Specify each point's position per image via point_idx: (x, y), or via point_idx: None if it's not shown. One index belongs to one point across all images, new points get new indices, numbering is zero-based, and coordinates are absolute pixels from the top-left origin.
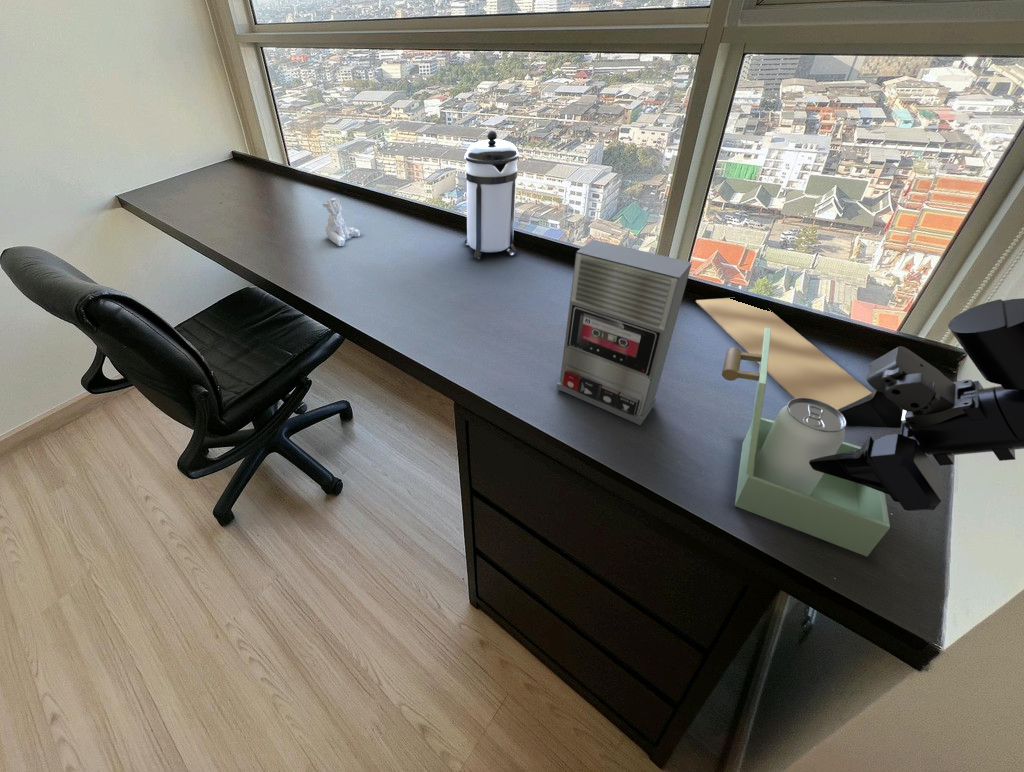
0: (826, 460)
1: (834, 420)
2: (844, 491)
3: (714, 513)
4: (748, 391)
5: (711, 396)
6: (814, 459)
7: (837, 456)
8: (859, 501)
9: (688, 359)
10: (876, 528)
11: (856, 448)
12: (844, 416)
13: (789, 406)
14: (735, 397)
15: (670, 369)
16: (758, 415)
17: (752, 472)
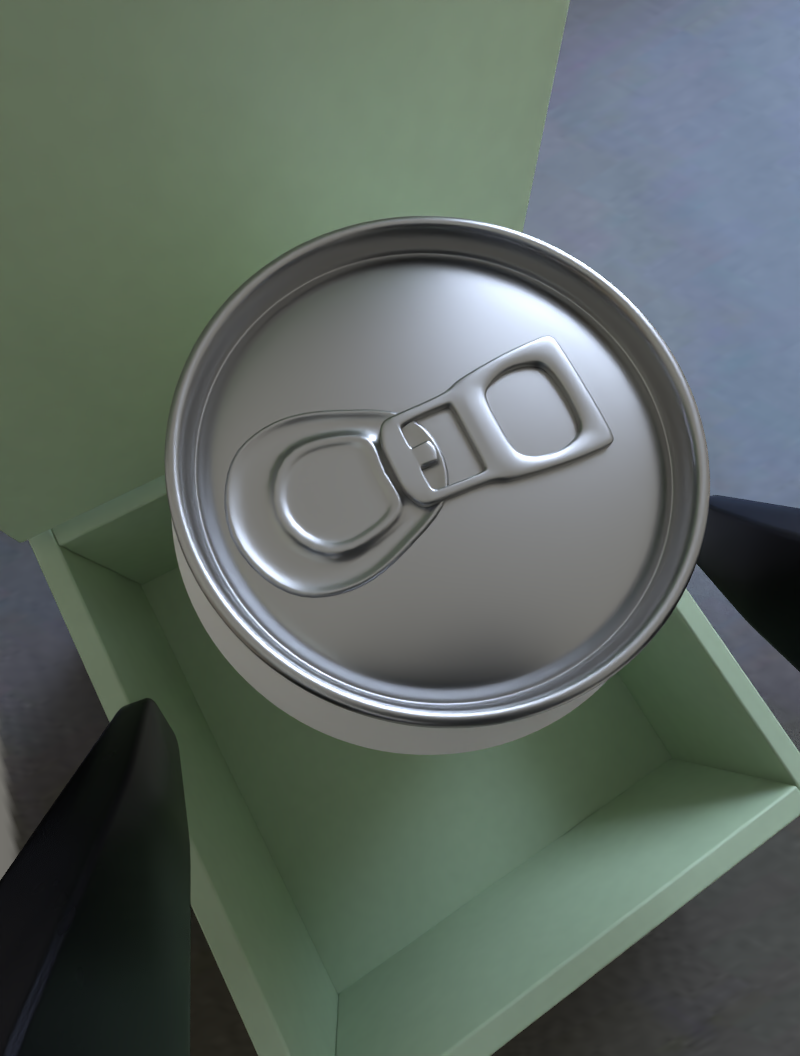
0: (33, 836)
1: (549, 588)
2: (567, 770)
3: (24, 564)
4: (733, 270)
5: (579, 216)
6: (132, 723)
7: (6, 930)
8: (563, 840)
9: (677, 67)
10: None
11: (746, 715)
12: (795, 581)
13: (370, 264)
14: (658, 264)
15: (567, 64)
16: None
17: (7, 532)
